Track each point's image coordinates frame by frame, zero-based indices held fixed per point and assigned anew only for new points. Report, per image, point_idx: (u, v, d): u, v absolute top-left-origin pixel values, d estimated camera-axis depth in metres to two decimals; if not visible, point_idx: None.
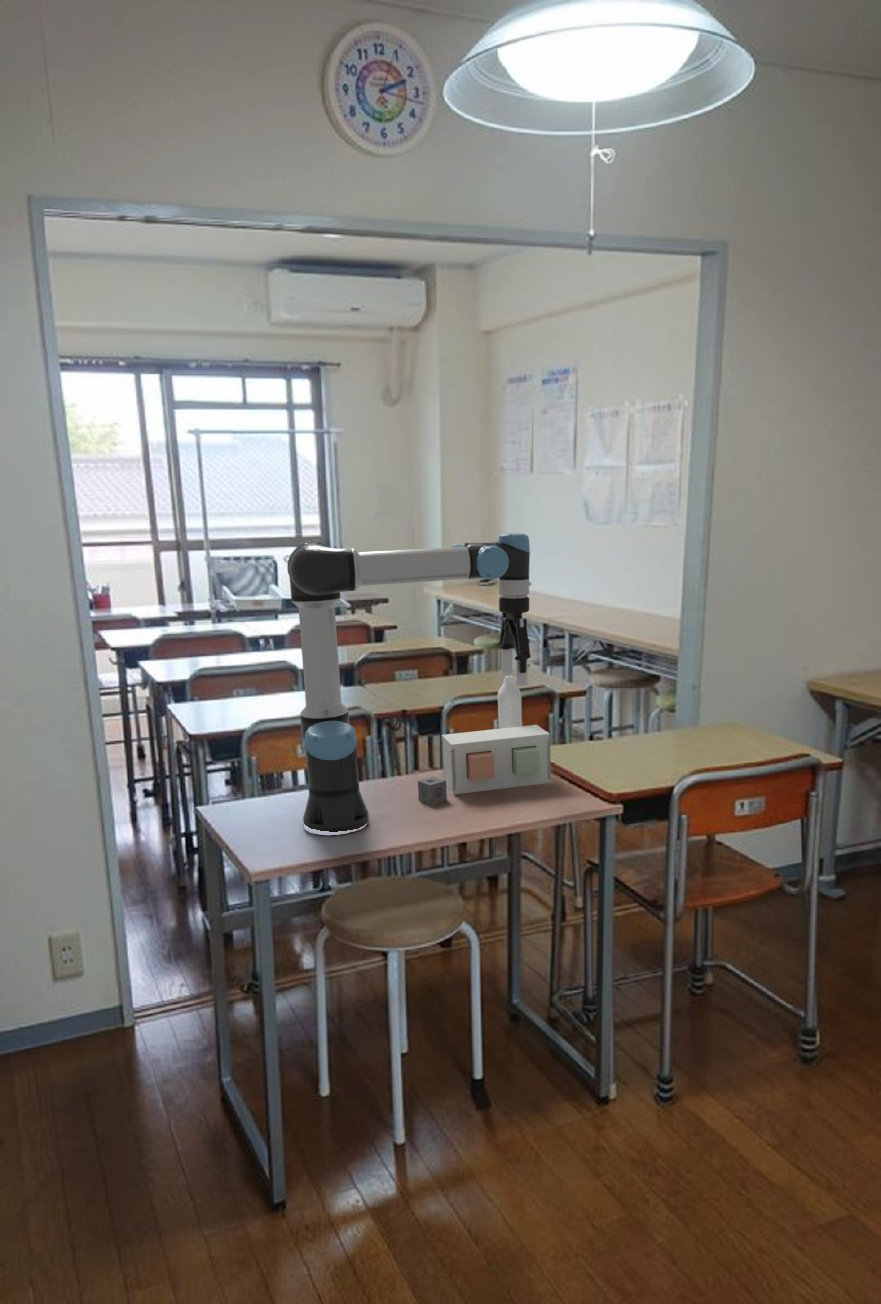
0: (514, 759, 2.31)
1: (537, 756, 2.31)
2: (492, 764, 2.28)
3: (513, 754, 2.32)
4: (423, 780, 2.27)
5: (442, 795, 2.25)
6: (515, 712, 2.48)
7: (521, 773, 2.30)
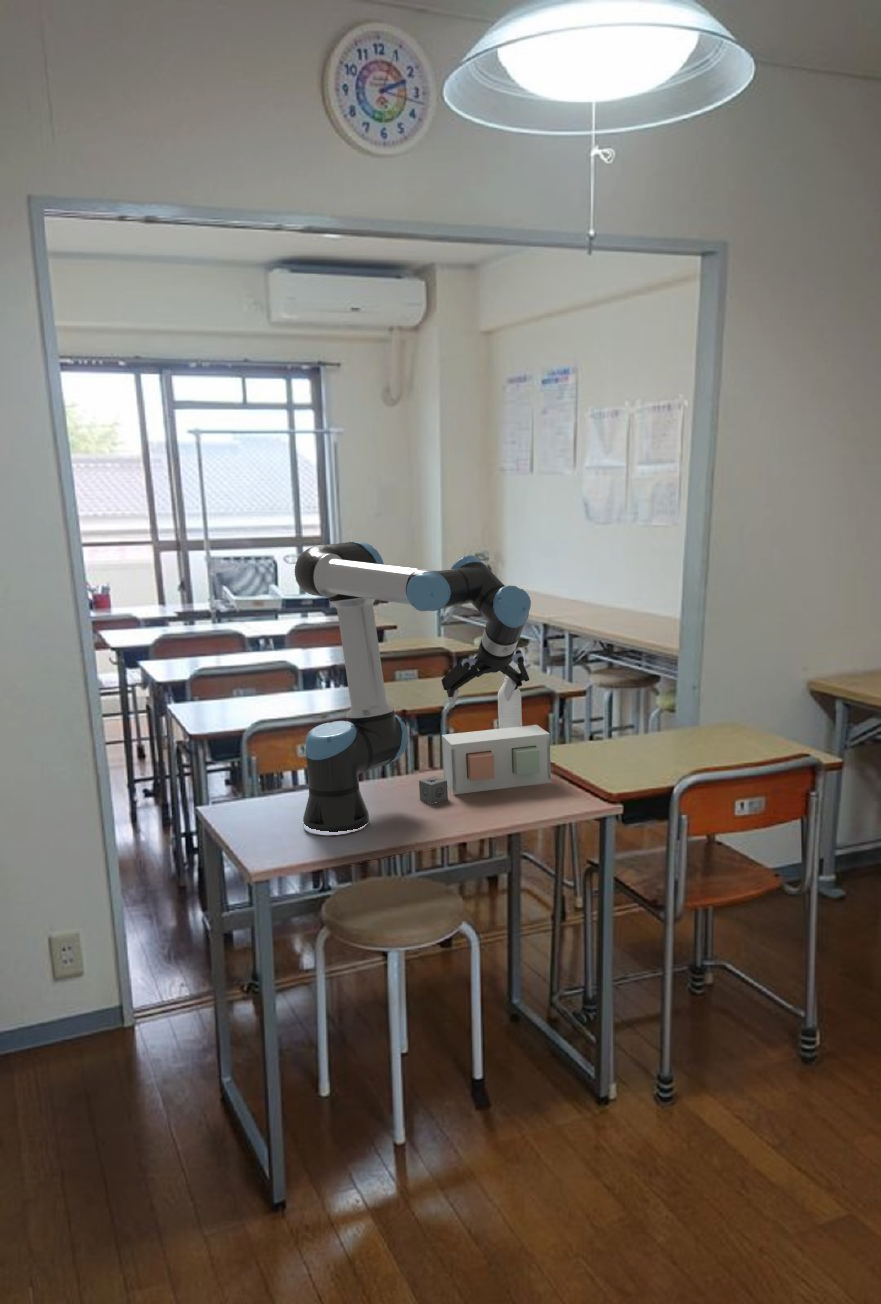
0: (514, 759, 2.31)
1: (537, 756, 2.31)
2: (492, 764, 2.28)
3: (513, 754, 2.32)
4: (424, 780, 2.27)
5: (443, 795, 2.26)
6: (515, 712, 2.48)
7: (521, 773, 2.30)
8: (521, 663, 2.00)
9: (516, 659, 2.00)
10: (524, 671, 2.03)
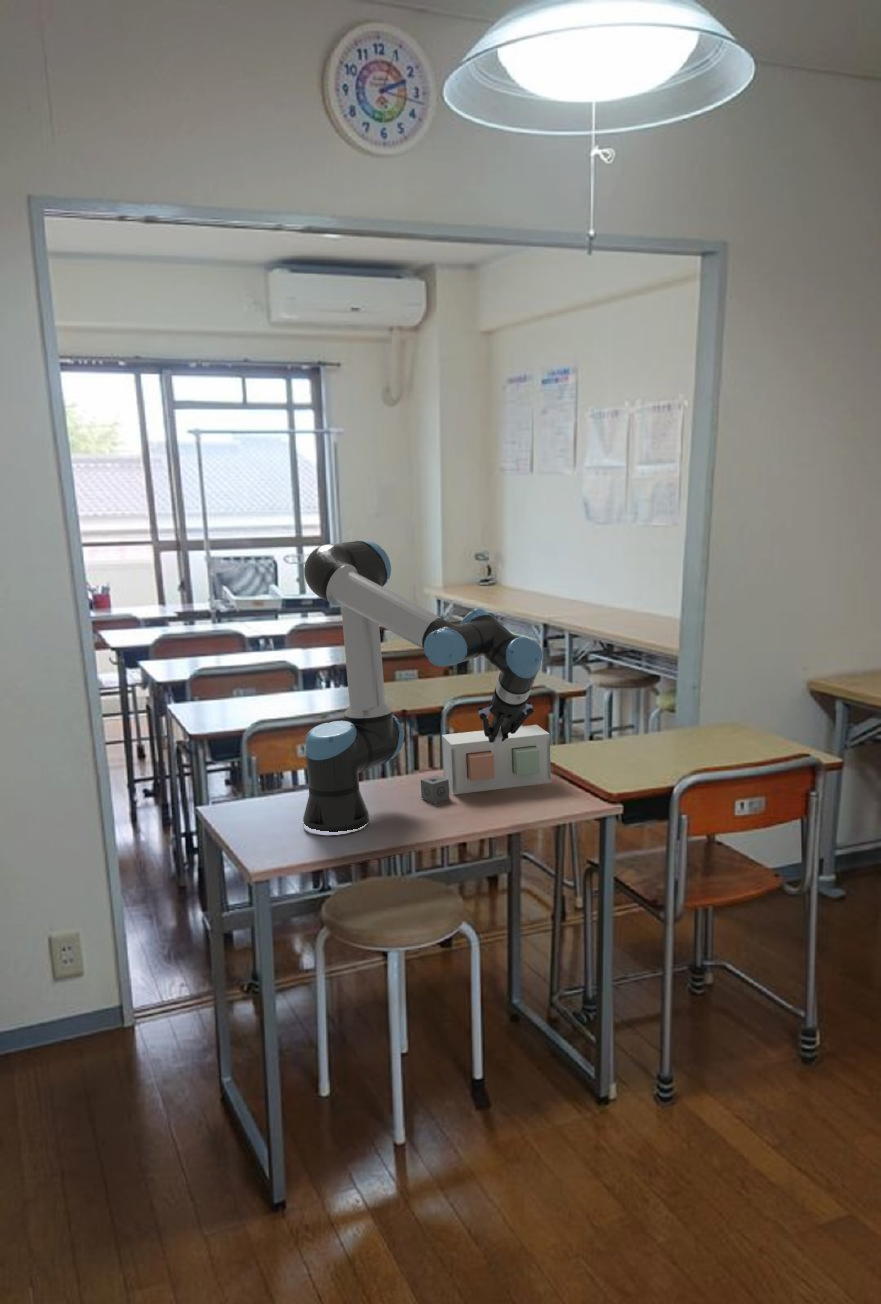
0: (514, 759, 2.31)
1: (537, 756, 2.31)
2: (492, 764, 2.28)
3: (513, 754, 2.32)
4: (426, 779, 2.27)
5: (445, 794, 2.26)
6: None
7: (521, 773, 2.30)
8: (528, 714, 2.06)
9: (526, 709, 2.06)
10: (521, 723, 2.09)
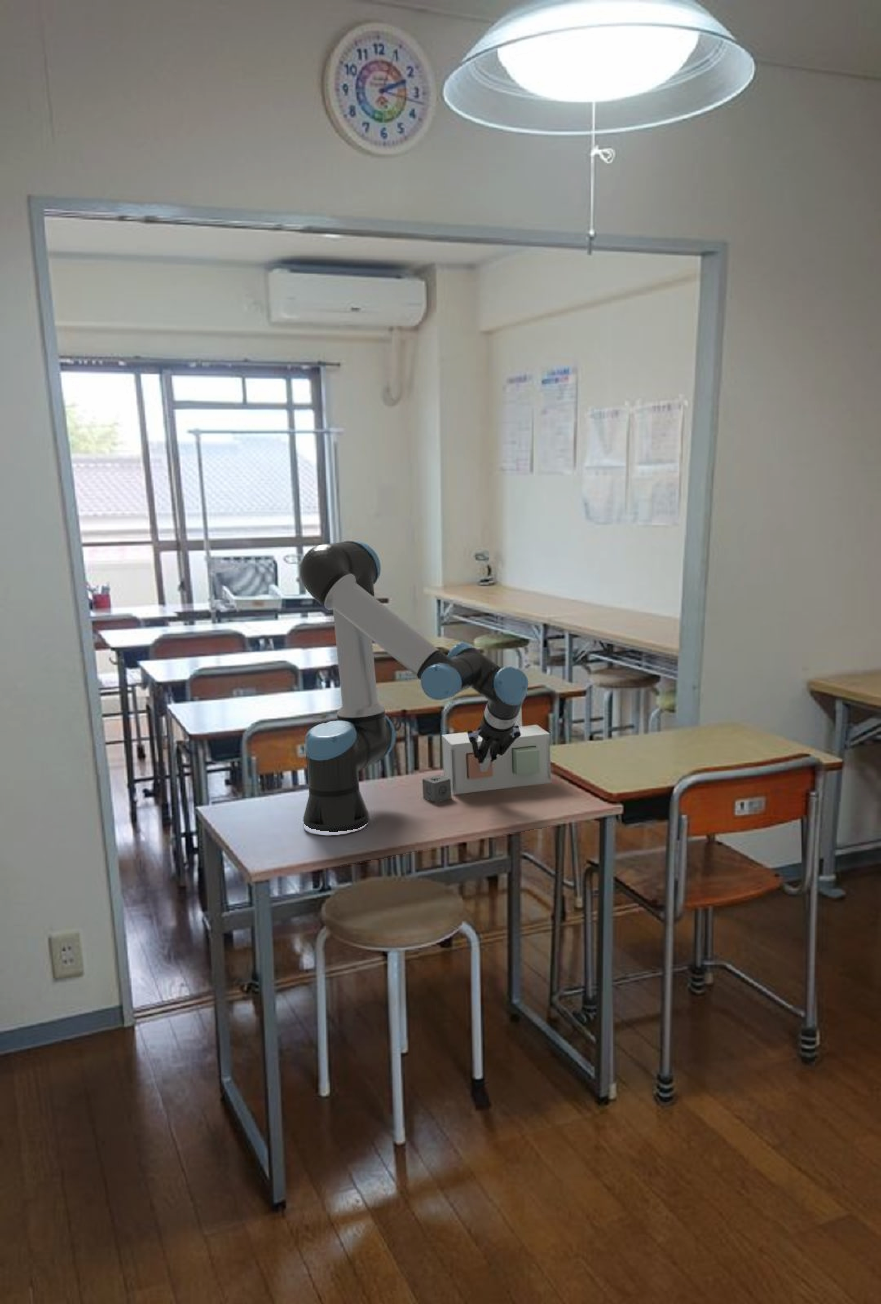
0: (514, 759, 2.31)
1: (537, 756, 2.31)
2: (490, 762, 2.29)
3: (513, 754, 2.32)
4: (428, 778, 2.28)
5: (446, 793, 2.27)
6: None
7: (521, 773, 2.30)
8: (515, 737, 2.16)
9: (514, 732, 2.16)
10: (509, 745, 2.19)
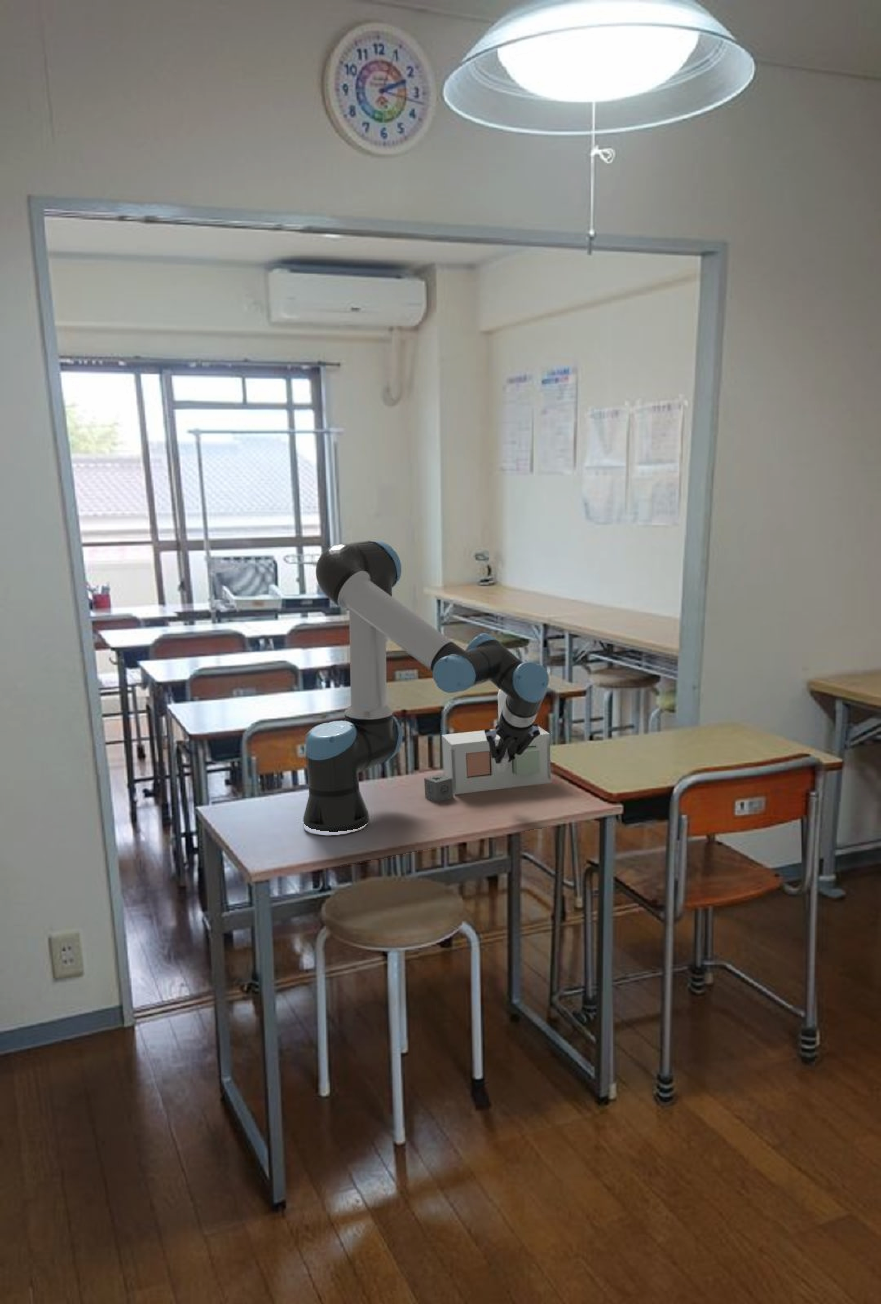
0: (514, 759, 2.31)
1: (537, 756, 2.31)
2: (488, 760, 2.31)
3: None
4: (429, 777, 2.28)
5: (448, 792, 2.27)
6: None
7: (521, 773, 2.30)
8: (534, 736, 2.08)
9: (533, 731, 2.07)
10: (527, 745, 2.10)
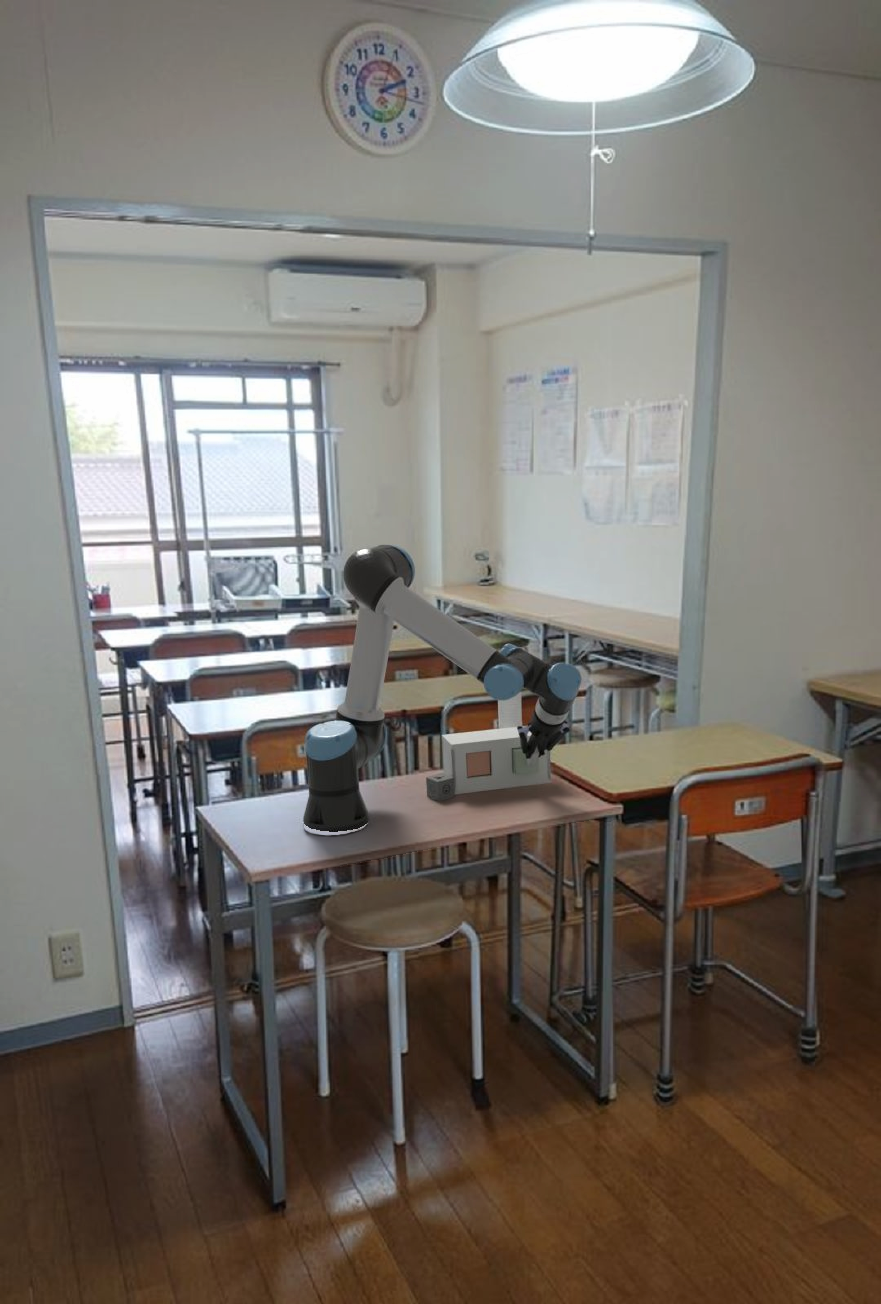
0: (514, 758, 2.31)
1: None
2: (488, 760, 2.31)
3: (512, 753, 2.32)
4: (431, 777, 2.29)
5: (450, 792, 2.28)
6: (515, 712, 2.48)
7: (520, 772, 2.31)
8: (564, 733, 2.18)
9: (563, 728, 2.18)
10: (557, 741, 2.21)
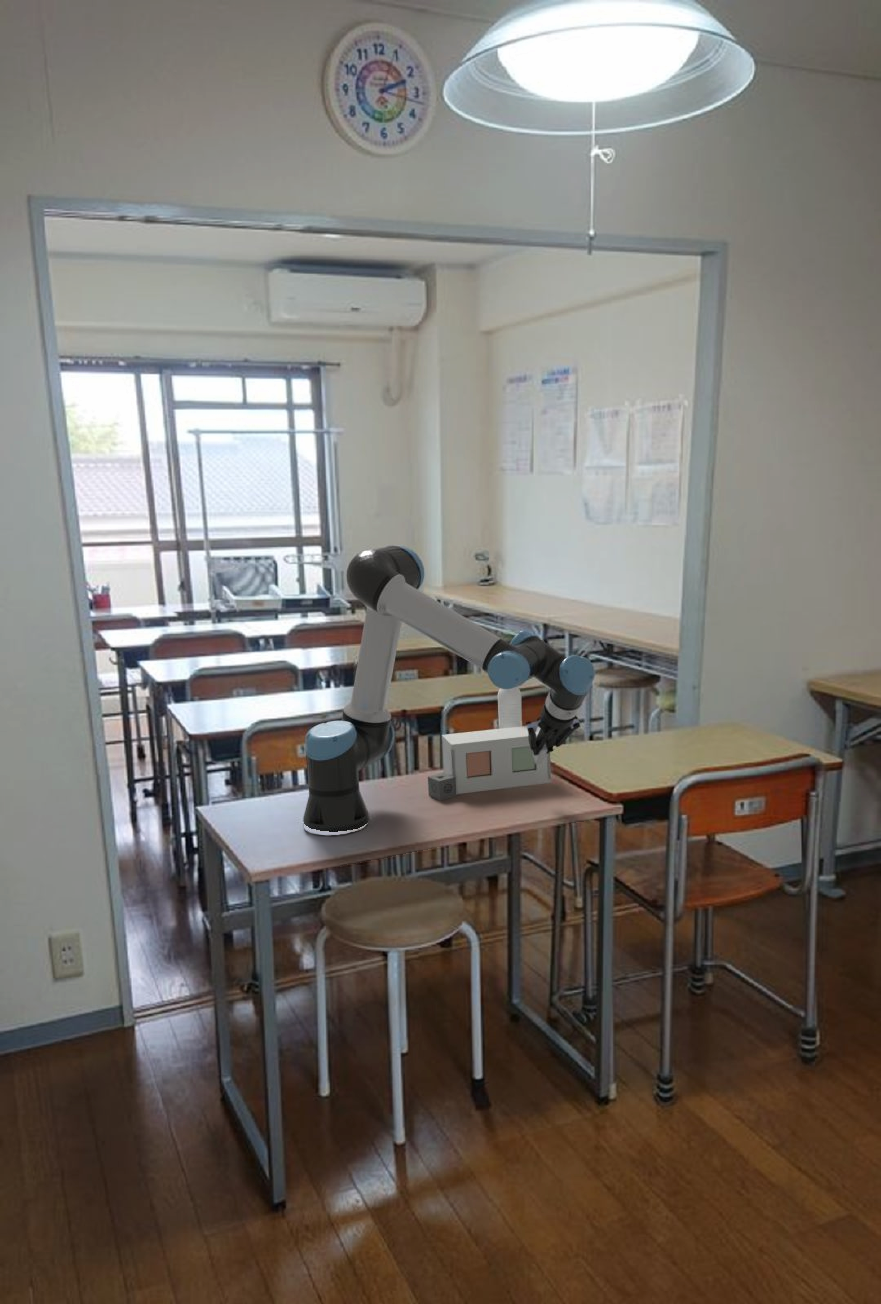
0: None
1: (532, 752, 2.34)
2: (488, 760, 2.31)
3: None
4: (433, 776, 2.29)
5: (451, 791, 2.28)
6: (515, 712, 2.48)
7: (516, 769, 2.34)
8: (574, 729, 2.10)
9: (573, 723, 2.10)
10: (566, 737, 2.13)
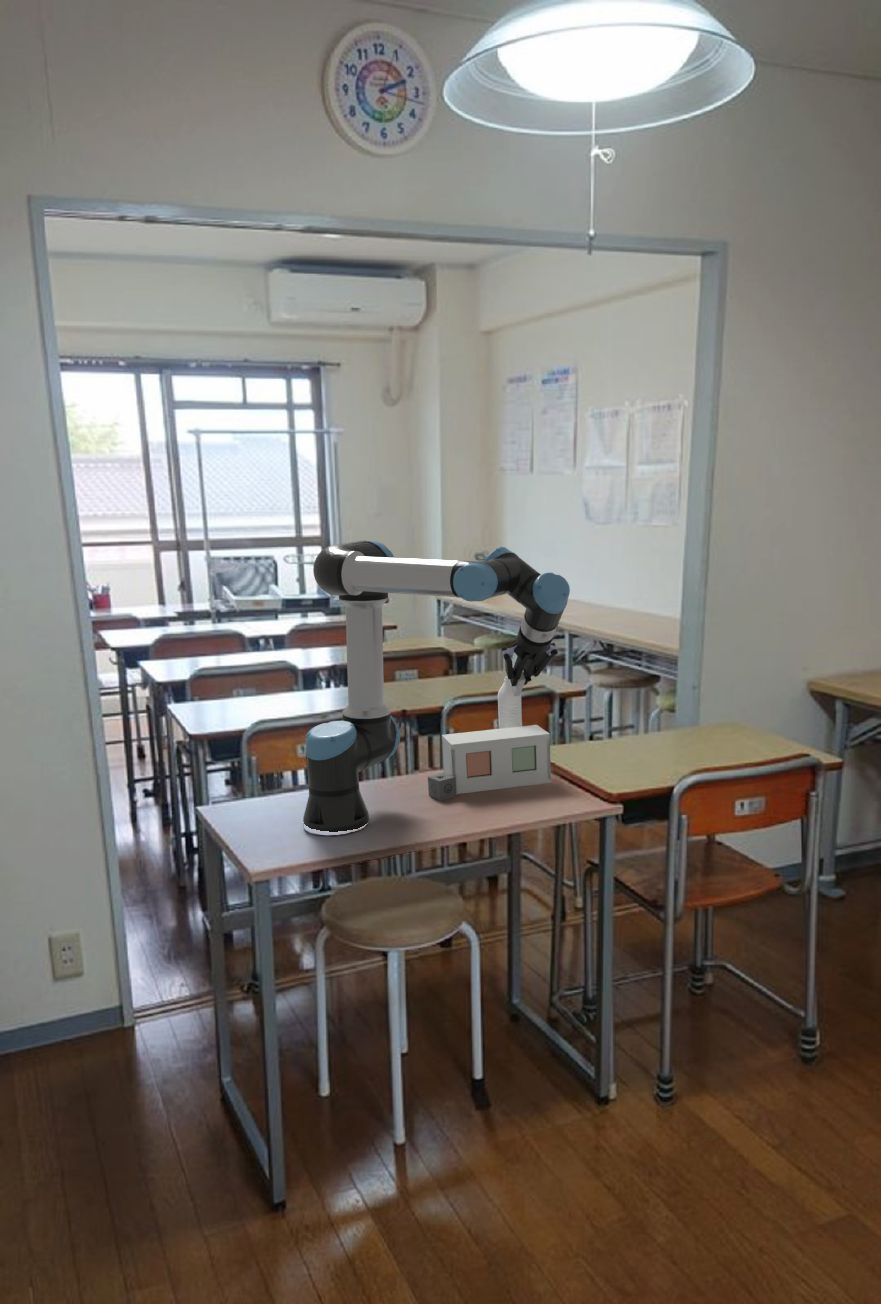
0: None
1: (532, 752, 2.34)
2: (488, 760, 2.31)
3: None
4: (433, 776, 2.29)
5: (452, 791, 2.28)
6: (515, 712, 2.48)
7: (516, 769, 2.34)
8: (552, 656, 2.04)
9: (550, 650, 2.04)
10: (544, 665, 2.07)
